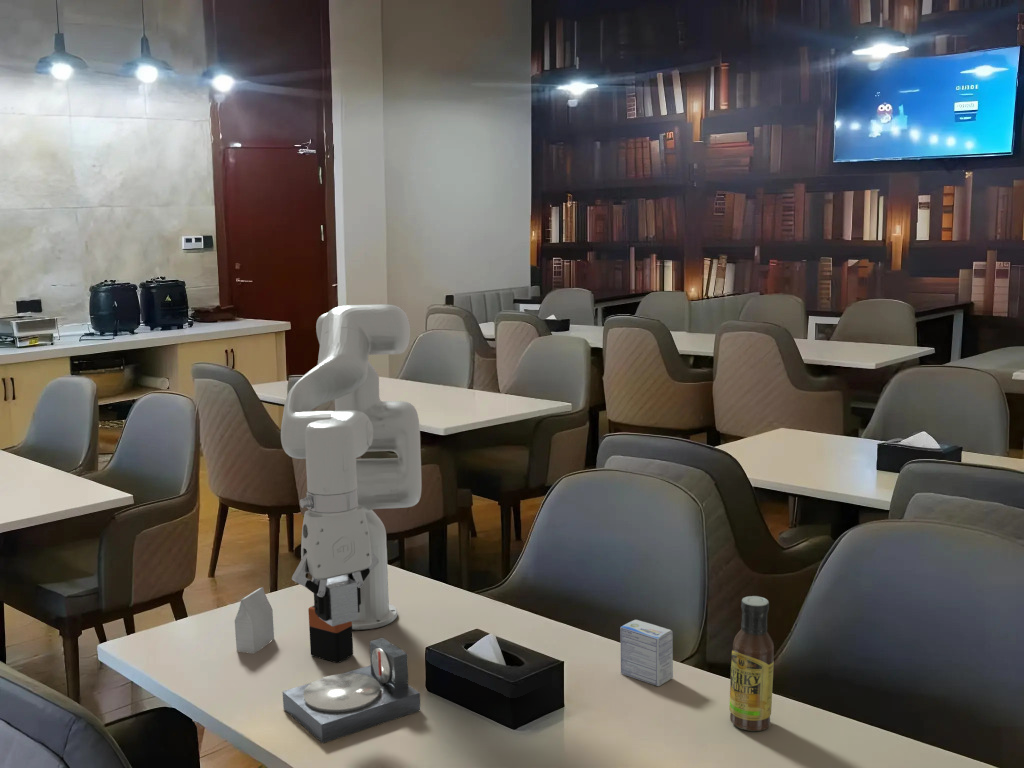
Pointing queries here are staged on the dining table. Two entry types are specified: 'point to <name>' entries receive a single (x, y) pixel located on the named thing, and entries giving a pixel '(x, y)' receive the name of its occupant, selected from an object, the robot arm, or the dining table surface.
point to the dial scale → (355, 696)
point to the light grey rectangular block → (342, 600)
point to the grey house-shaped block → (254, 622)
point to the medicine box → (646, 652)
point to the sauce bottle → (752, 668)
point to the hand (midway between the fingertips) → (338, 613)
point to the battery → (329, 638)
